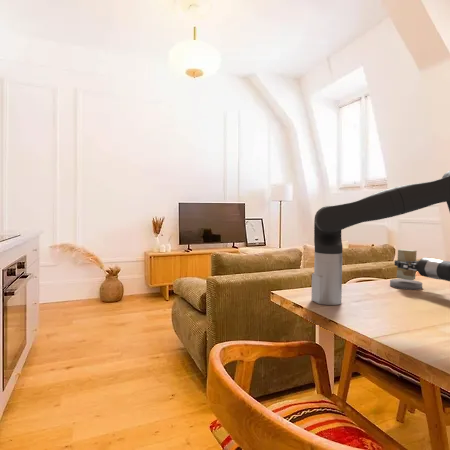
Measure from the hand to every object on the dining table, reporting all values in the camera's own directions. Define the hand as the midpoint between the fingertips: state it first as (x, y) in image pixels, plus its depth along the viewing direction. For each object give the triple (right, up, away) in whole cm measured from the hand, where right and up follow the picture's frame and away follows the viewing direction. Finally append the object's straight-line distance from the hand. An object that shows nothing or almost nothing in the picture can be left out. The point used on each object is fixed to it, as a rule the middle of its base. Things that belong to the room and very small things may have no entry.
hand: (402, 262), depth 145 cm
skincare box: (0, -7, -2) cm, 7 cm away
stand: (0, -10, -2) cm, 10 cm away
